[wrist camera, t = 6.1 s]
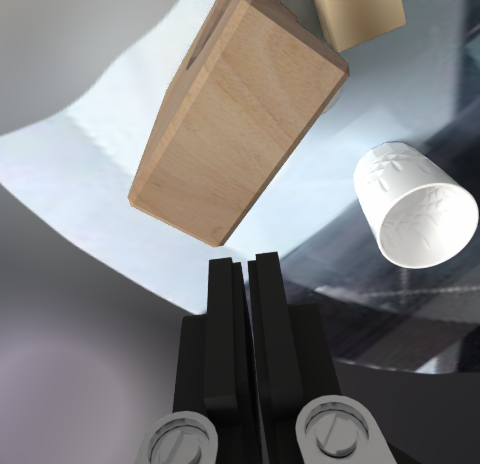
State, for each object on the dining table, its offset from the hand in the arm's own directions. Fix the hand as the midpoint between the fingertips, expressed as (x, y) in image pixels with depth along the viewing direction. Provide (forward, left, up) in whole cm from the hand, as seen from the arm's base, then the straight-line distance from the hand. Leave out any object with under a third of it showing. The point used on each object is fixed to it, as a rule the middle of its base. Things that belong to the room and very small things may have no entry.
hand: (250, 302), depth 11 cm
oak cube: (-10, -3, -31) cm, 33 cm away
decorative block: (0, 0, -31) cm, 31 cm away
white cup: (-14, +13, -31) cm, 36 cm away
